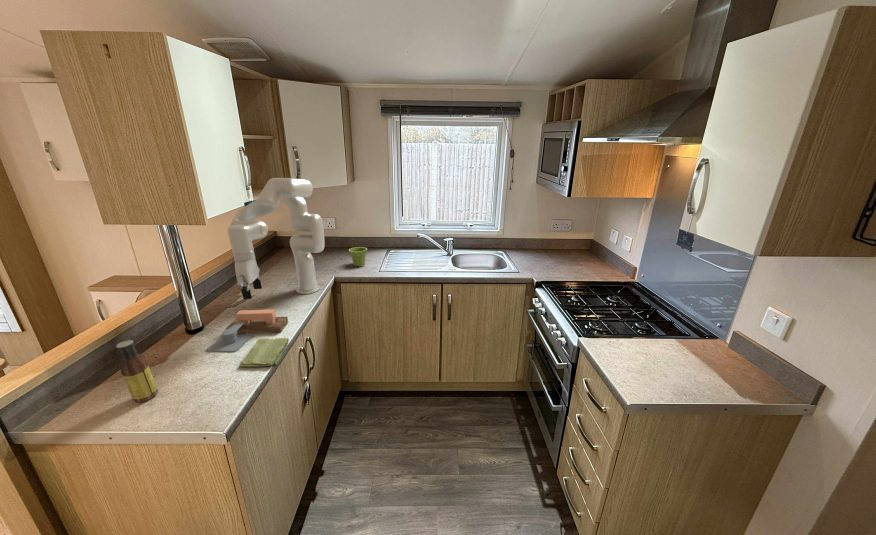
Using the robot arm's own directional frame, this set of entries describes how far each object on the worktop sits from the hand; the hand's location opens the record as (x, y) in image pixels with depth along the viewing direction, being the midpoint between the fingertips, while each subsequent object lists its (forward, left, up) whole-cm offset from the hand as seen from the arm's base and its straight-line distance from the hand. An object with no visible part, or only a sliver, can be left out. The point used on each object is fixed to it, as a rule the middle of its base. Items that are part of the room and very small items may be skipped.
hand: (253, 293), depth 142 cm
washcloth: (+21, +11, -17) cm, 29 cm away
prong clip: (+1, 0, -16) cm, 16 cm away
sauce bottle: (+43, -17, -17) cm, 49 cm away
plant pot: (-81, +31, -17) cm, 88 cm away
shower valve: (+11, -6, -17) cm, 21 cm away
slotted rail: (+1, 0, -16) cm, 16 cm away
